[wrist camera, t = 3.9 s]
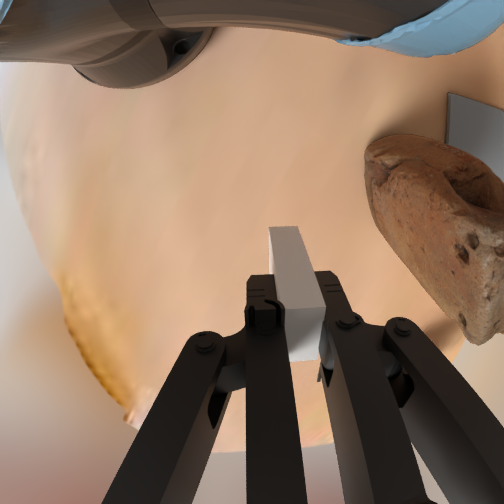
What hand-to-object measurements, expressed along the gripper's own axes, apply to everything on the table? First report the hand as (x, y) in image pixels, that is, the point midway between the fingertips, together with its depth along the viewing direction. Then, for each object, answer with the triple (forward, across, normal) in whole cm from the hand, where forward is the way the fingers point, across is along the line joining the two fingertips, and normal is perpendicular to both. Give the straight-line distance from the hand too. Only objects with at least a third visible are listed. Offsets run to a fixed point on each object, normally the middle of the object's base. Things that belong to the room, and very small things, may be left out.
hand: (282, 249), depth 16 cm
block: (+15, +14, 0) cm, 20 cm away
